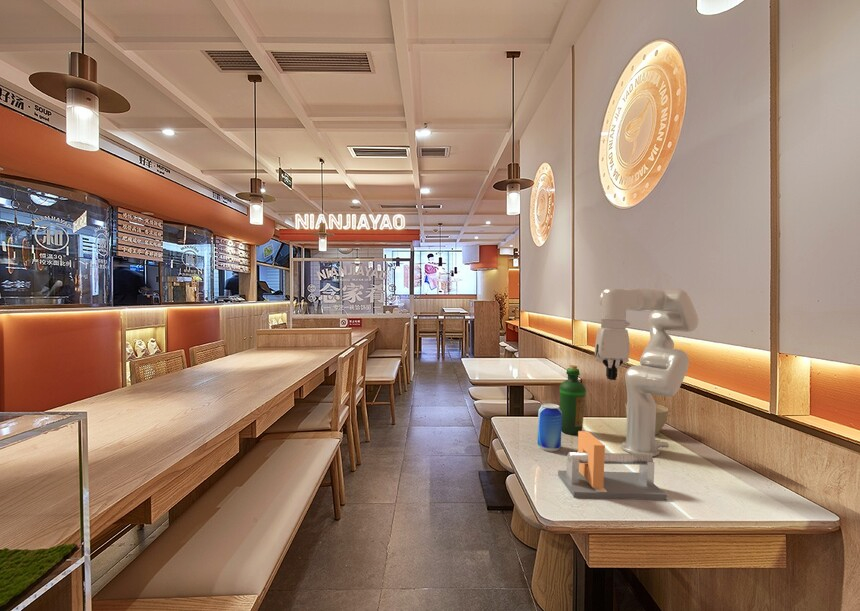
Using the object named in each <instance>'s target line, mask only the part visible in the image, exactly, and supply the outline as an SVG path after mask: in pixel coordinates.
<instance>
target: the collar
mask: <svg viewBox="0 0 860 611" xmlns="http://www.w3.org/2000/svg"><path fill="white" fill-rule="evenodd" d="M577 436H578V438H577V439H578V440H577V452H587V453H588V463H579V472H580V473H581V474H582V475H583V476H584V478H585V479H586V480H587V481H588V482H589V483H590V485H591V486H592V487H599V488H603V485H604V472H605V464H604V456H605V453H606V452H605V451H606V446H605V444H604V443H603V442H602V441H600V440H599V439H598V438H596V437H595V436H594V435H593V434H592V433H591V432H589V431H588V430H586V431H584V430H582V431H578V435H577Z"/></svg>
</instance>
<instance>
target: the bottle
mask: <svg viewBox="0 0 860 611" xmlns="http://www.w3.org/2000/svg"><path fill="white" fill-rule="evenodd" d="M565 374H566V375H567V380H564V381H562V382H561V384H560V385H559V408H560V410H561V412H562V427H561V433H564V434H567V435H573V436H578V431H583V425H584V414H585V404H586V392H587V389H586V387H585V385H584V383H582V382H581V381H579V376H580V375H581V373H580V369H579V368H578V365H574V364H573V365H572V364H571V365H568V368H567V369H566V372H565Z"/></svg>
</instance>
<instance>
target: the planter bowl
mask: <svg viewBox="0 0 860 611" xmlns="http://www.w3.org/2000/svg"><path fill="white" fill-rule="evenodd" d="M624 406H625V413H626V415H627V402H626V403H625V404H624ZM668 414H669V409H668V408H667V407H665V406H664V405H661V404H656V424H655V436H656V435H659V434H660V431H661V429H663V428H664V426H665V425H666V422H667V419H668Z"/></svg>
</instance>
